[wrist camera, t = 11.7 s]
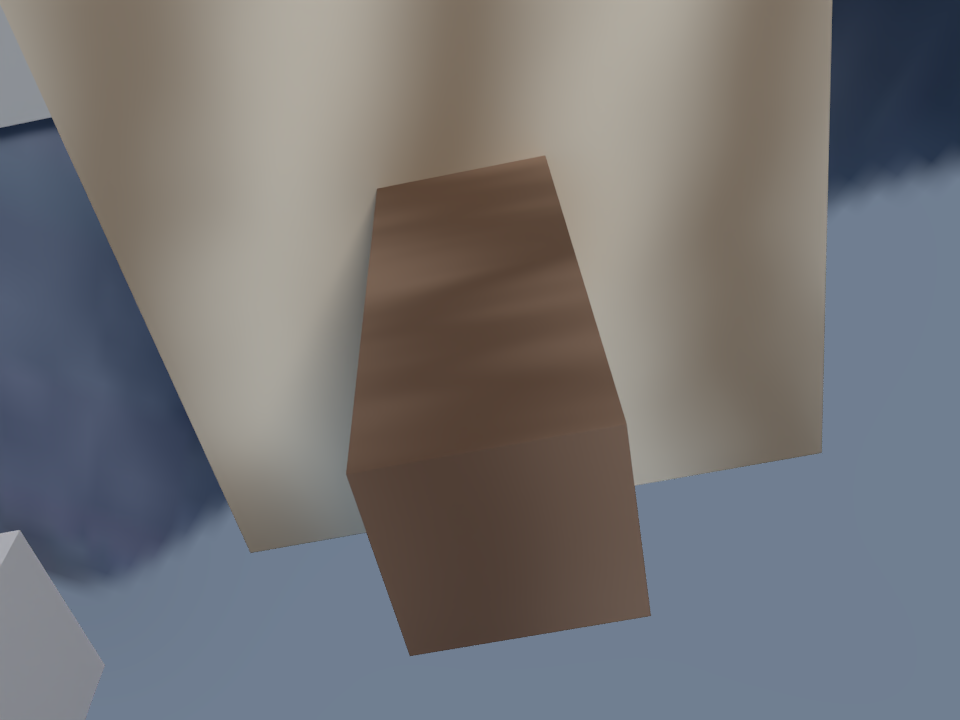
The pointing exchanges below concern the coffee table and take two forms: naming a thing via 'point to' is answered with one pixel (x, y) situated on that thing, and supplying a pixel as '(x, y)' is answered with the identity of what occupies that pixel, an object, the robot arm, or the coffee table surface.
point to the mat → (17, 82)
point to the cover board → (434, 94)
